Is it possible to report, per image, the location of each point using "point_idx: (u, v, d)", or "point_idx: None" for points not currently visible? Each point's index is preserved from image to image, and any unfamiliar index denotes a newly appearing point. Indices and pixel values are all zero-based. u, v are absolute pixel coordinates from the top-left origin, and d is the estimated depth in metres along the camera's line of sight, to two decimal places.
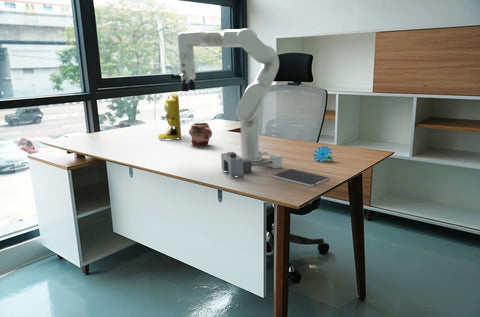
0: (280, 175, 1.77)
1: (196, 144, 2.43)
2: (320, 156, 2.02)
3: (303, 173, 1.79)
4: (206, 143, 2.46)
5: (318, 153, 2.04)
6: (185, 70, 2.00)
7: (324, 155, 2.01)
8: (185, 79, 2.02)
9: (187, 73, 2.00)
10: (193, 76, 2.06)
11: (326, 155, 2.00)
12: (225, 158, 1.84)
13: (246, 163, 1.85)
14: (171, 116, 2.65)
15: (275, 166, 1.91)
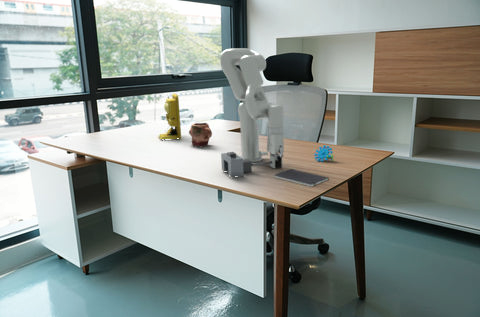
0: (280, 175, 1.77)
1: (196, 144, 2.43)
2: (321, 156, 2.02)
3: (303, 173, 1.79)
4: (206, 143, 2.46)
5: (319, 153, 2.04)
6: None
7: (325, 155, 2.01)
8: None
9: None
10: (271, 151, 1.90)
11: (327, 155, 2.00)
12: (225, 158, 1.84)
13: (246, 163, 1.85)
14: (171, 116, 2.65)
15: None
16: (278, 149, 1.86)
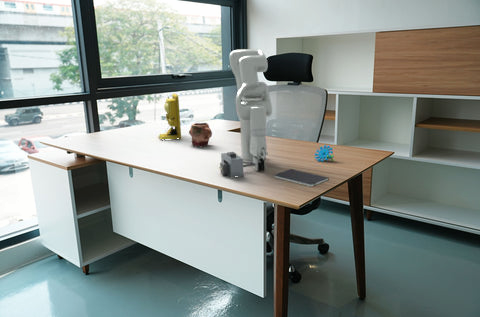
0: (280, 175, 1.77)
1: (196, 144, 2.43)
2: (321, 156, 2.02)
3: (303, 173, 1.79)
4: (206, 143, 2.46)
5: (319, 152, 2.04)
6: None
7: (325, 155, 2.01)
8: None
9: None
10: (254, 153, 1.87)
11: (327, 155, 2.00)
12: (225, 158, 1.84)
13: None
14: (171, 116, 2.65)
15: None
16: (261, 151, 1.83)
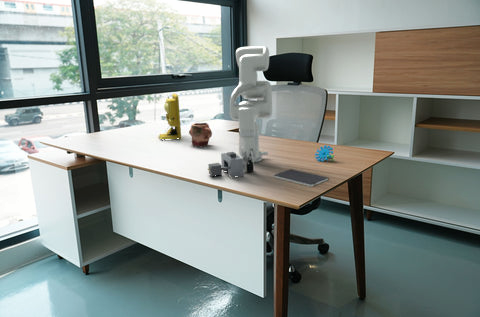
0: (280, 175, 1.77)
1: (196, 144, 2.43)
2: (321, 156, 2.02)
3: (303, 173, 1.79)
4: (206, 143, 2.46)
5: (319, 152, 2.04)
6: None
7: (325, 155, 2.01)
8: None
9: None
10: (242, 154, 1.85)
11: (327, 155, 2.00)
12: (225, 158, 1.84)
13: (216, 167, 1.80)
14: (171, 116, 2.65)
15: None
16: (249, 153, 1.81)
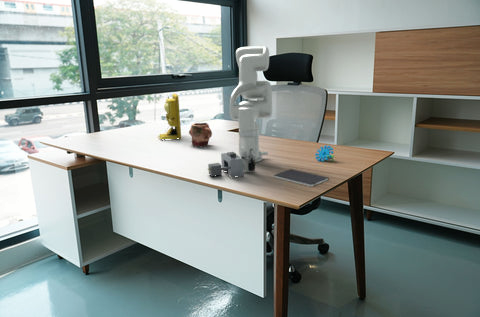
0: (280, 175, 1.77)
1: (196, 144, 2.43)
2: (321, 156, 2.02)
3: (303, 173, 1.79)
4: (206, 143, 2.46)
5: (320, 152, 2.04)
6: None
7: (325, 155, 2.01)
8: None
9: None
10: (242, 154, 1.85)
11: (327, 155, 2.00)
12: (225, 158, 1.84)
13: (216, 167, 1.80)
14: (171, 116, 2.65)
15: (246, 170, 1.86)
16: (249, 153, 1.81)
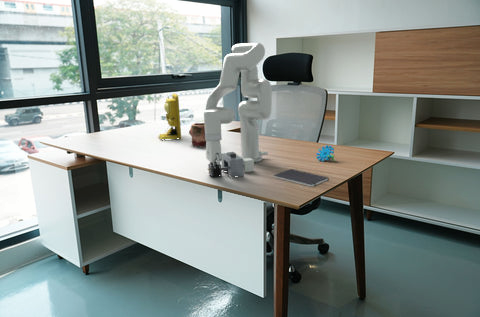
0: (280, 175, 1.77)
1: (196, 144, 2.43)
2: (322, 155, 2.02)
3: (303, 173, 1.79)
4: None
5: (321, 152, 2.05)
6: None
7: (326, 155, 2.01)
8: None
9: None
10: (209, 159, 1.80)
11: (328, 155, 2.00)
12: (225, 158, 1.84)
13: None
14: (171, 116, 2.65)
15: (246, 170, 1.86)
16: (215, 157, 1.76)
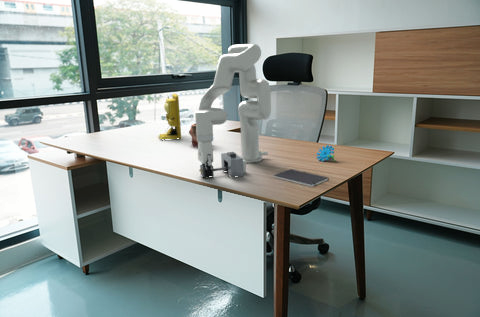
0: (280, 175, 1.77)
1: (196, 144, 2.43)
2: (322, 155, 2.03)
3: (303, 173, 1.79)
4: None
5: (321, 152, 2.05)
6: None
7: (326, 155, 2.01)
8: None
9: None
10: (200, 160, 1.78)
11: (328, 155, 2.00)
12: (225, 158, 1.84)
13: None
14: (171, 116, 2.65)
15: None
16: (206, 158, 1.75)
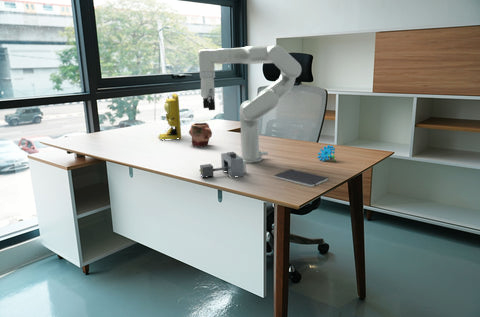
0: (280, 175, 1.77)
1: (196, 144, 2.43)
2: (323, 155, 2.03)
3: (303, 173, 1.79)
4: (206, 143, 2.46)
5: (322, 152, 2.05)
6: None
7: (327, 154, 2.01)
8: None
9: None
10: (203, 95, 1.96)
11: (328, 155, 2.00)
12: (225, 158, 1.84)
13: (207, 168, 1.79)
14: (171, 116, 2.65)
15: None
16: (209, 92, 1.93)
